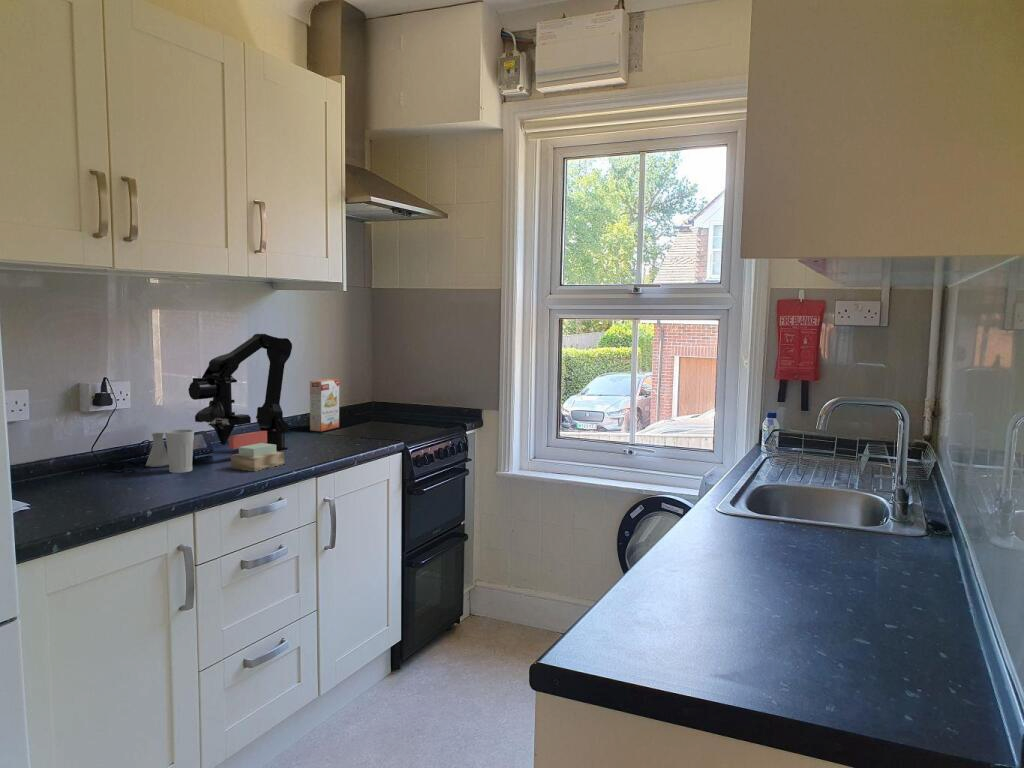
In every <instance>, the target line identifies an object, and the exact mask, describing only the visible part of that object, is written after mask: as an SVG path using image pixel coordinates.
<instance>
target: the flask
mask: <svg viewBox="0 0 1024 768" xmlns="http://www.w3.org/2000/svg"><path fill="white" fill-rule="evenodd" d="M164 435H165V432H155V433H152V434H151V436H152V445H151V448H150V449H151V450H150V452H149V454H148V457H147V460H146V464H145V467H151V468H155V467H156V468H157V467H165V466H169V460H168V451H167V447H166V446H165V442H164Z"/></svg>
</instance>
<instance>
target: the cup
mask: <svg viewBox="0 0 1024 768" xmlns="http://www.w3.org/2000/svg"><path fill="white" fill-rule="evenodd" d="M164 435H165V436H164V437H165V442H166V443H165V444H166V451H167V453H168V460H169V465H168V466H169V467H168V471H169V473H171V472H172V474H173V473H174V474H180V473H181V474H182V473H183V474H184V473H188V472H191V471H193V456H194V455H193V453H194V442H195V441H194V439H195V430H194V429H188V428H186V429H182V428H181V429H170V430H166V431H164Z"/></svg>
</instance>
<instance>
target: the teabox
mask: <svg viewBox="0 0 1024 768" xmlns="http://www.w3.org/2000/svg"><path fill="white" fill-rule="evenodd" d="M283 464H285V452H284V451H279V450H278V451H276V453H272V454H267V455H262V456H257V457H249V456H241V455H239V453H236V454H232V455H230V469H234V470H239V469H241V471H246V470H247V472H253V471H255V472H259V471H258V470H260V471H263V470H262V469H264V470H267V469H266V468H269V467H273V468H275V467H274V466H277V467H279V466H278V465H282V466H284V465H283ZM269 469H270V468H269Z"/></svg>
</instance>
